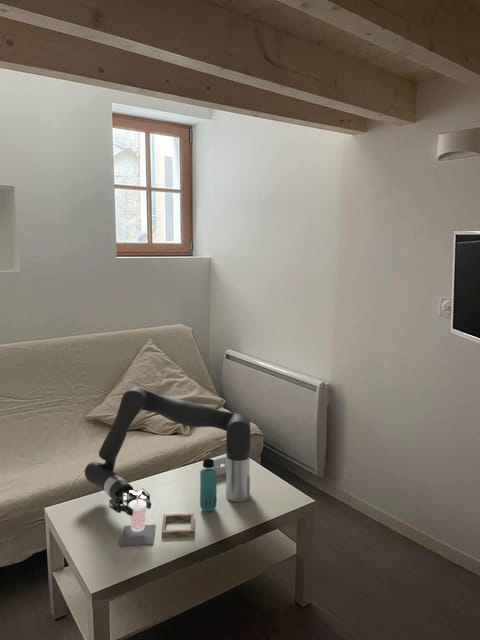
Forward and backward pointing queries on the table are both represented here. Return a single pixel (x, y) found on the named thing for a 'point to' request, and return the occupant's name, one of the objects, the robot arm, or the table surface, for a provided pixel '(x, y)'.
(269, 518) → the table surface
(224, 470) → the cassette
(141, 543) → the rubber mat
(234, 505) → the table surface
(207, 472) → the beverage bottle
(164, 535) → the walnut holder
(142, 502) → the beverage cup
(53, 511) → the table surface
